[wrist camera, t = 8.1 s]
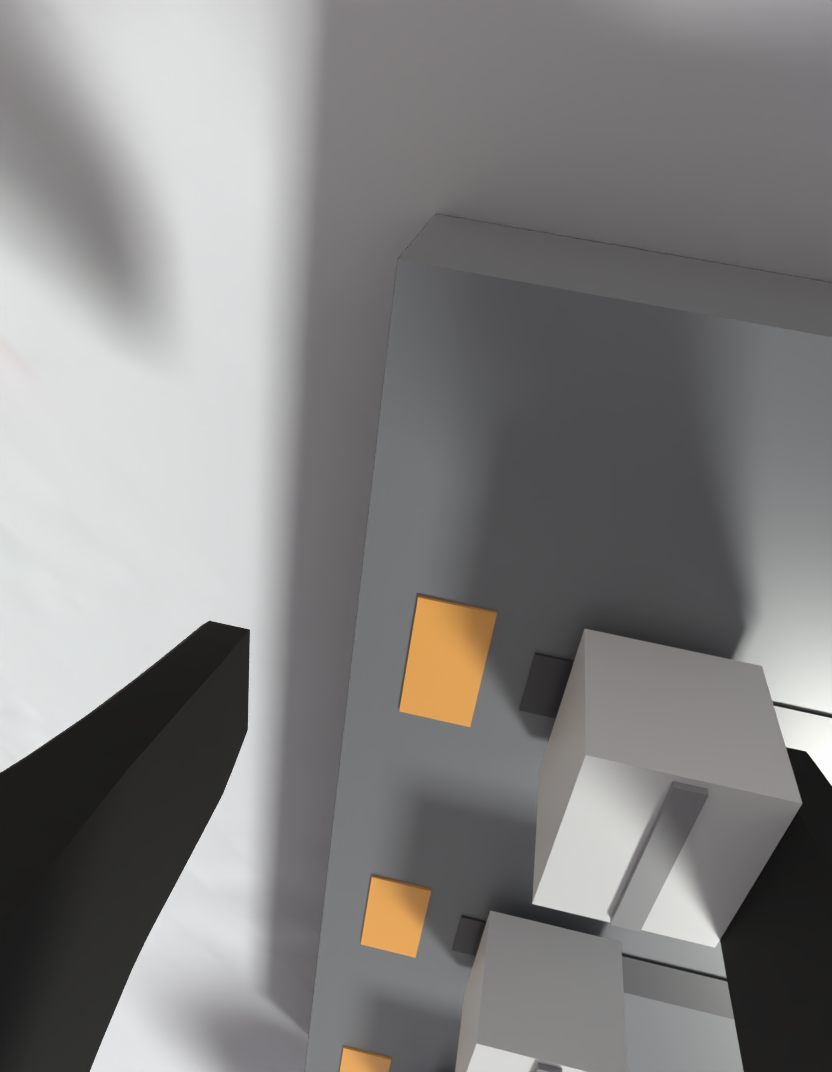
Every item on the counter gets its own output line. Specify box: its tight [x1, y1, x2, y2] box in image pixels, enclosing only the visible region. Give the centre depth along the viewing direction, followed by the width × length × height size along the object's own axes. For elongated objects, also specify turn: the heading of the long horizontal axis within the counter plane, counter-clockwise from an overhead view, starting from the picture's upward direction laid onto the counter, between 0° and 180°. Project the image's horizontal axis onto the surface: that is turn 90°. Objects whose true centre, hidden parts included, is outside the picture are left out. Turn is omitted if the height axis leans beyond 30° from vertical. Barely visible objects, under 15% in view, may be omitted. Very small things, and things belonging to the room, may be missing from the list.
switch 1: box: [455, 911, 627, 1072], centre depth 15 cm, size 2×3×2 cm
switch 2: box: [532, 629, 802, 948], centre depth 11 cm, size 2×3×2 cm
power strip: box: [305, 214, 832, 1072], centre depth 19 cm, size 11×31×3 cm, turn 173°
